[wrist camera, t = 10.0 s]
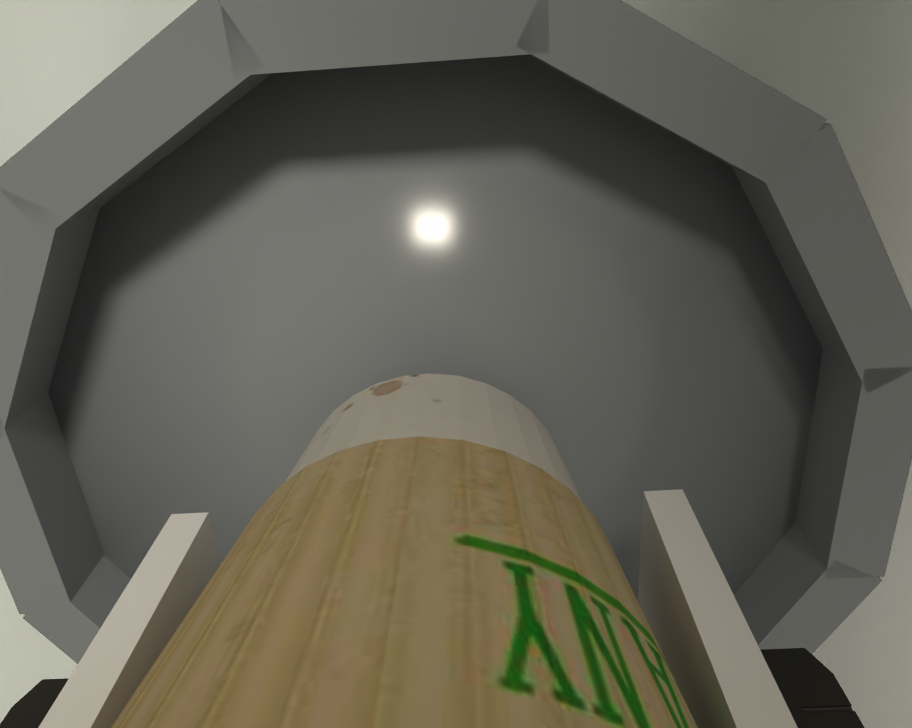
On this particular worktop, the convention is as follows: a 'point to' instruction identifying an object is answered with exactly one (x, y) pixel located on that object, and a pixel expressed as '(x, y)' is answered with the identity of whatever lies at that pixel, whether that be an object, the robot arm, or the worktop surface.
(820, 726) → the robot arm
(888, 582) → the worktop surface
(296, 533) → the coffee cup
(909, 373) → the tray
